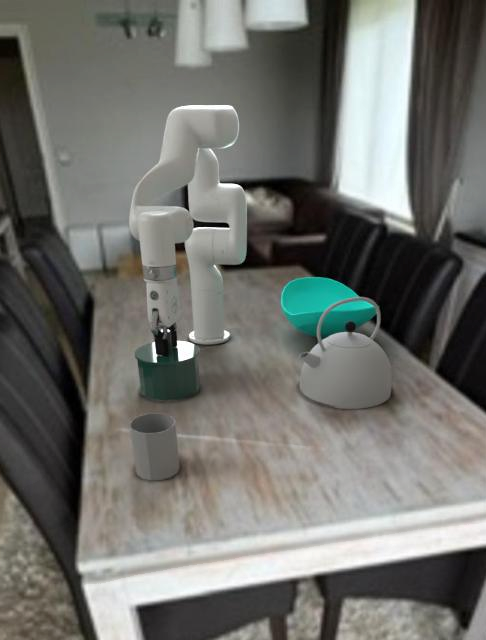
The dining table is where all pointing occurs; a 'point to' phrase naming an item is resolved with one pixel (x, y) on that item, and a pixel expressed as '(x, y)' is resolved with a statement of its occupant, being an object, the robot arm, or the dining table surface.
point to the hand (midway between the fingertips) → (166, 349)
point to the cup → (155, 446)
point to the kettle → (347, 367)
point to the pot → (169, 380)
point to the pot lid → (176, 354)
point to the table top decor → (322, 306)
